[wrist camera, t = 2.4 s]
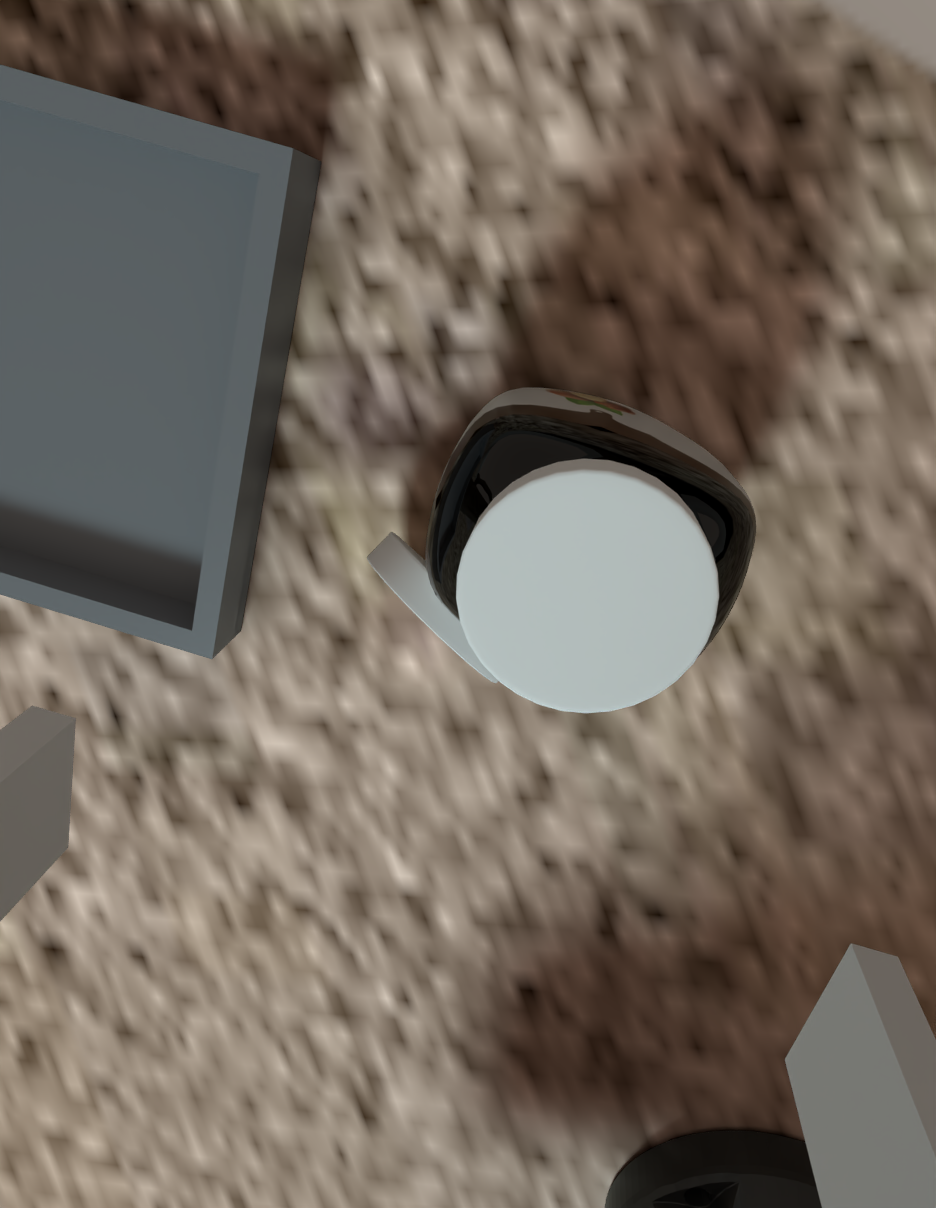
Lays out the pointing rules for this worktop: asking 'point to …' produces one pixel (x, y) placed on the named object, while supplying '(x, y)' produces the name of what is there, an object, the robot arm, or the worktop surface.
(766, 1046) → the worktop surface
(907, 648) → the worktop surface
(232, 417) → the tray
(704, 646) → the spread jar
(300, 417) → the worktop surface
